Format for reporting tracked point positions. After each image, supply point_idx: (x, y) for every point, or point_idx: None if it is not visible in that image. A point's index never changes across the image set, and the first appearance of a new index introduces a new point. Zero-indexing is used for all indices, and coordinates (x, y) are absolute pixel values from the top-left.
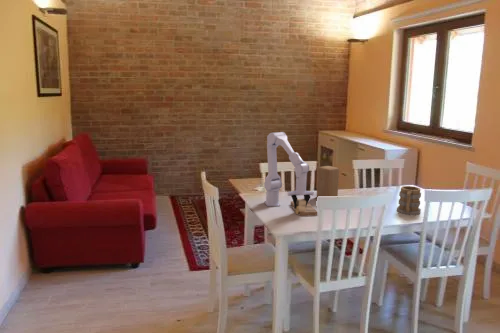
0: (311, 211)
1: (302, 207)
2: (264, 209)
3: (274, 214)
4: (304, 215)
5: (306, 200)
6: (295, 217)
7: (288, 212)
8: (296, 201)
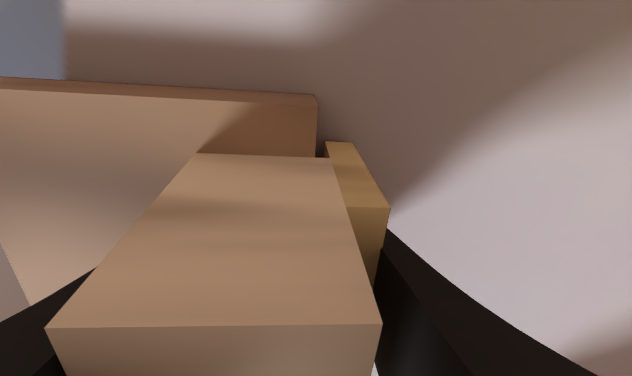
0: (69, 129)
1: (249, 189)
2: (594, 345)
3: (619, 198)
4: (235, 90)
5: (10, 371)
6: (420, 13)
7: None
8: (449, 335)
